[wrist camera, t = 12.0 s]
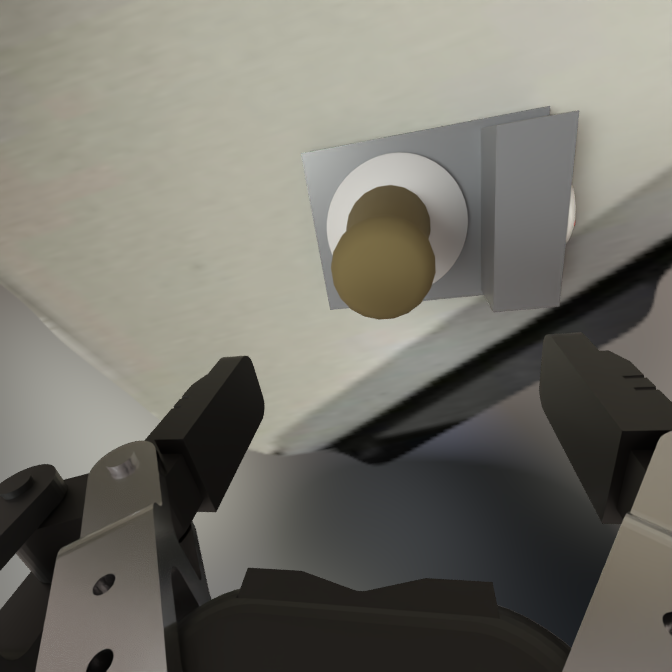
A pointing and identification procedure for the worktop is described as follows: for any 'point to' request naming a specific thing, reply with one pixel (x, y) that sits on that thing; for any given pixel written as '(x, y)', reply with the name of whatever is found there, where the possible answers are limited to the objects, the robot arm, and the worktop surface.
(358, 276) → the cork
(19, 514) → the robot arm
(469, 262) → the knob on square plate
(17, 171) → the worktop surface
